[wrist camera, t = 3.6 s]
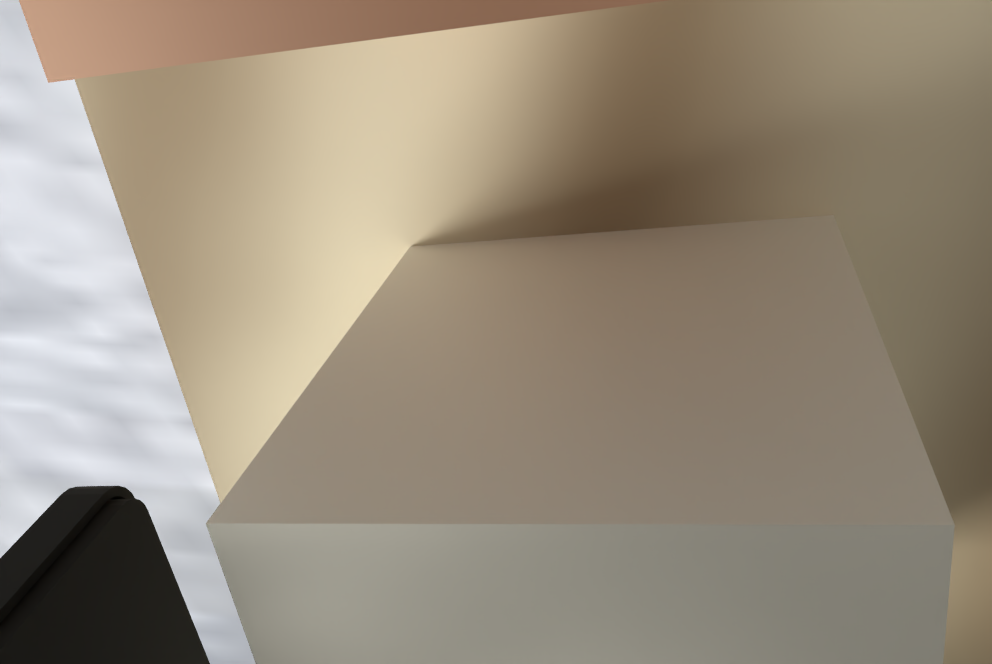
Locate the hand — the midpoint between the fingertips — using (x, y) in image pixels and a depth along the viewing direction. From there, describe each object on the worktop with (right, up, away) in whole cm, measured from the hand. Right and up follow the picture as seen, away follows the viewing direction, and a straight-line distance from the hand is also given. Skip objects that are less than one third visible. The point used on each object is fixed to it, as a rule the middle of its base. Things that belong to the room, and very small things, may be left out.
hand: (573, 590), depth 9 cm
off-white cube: (+1, +2, +4) cm, 4 cm away
